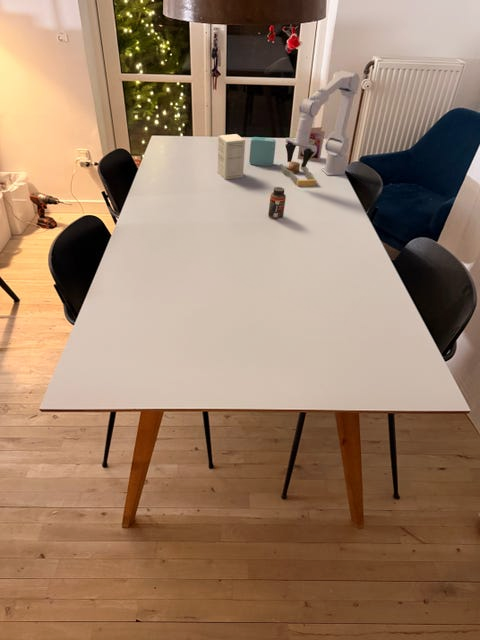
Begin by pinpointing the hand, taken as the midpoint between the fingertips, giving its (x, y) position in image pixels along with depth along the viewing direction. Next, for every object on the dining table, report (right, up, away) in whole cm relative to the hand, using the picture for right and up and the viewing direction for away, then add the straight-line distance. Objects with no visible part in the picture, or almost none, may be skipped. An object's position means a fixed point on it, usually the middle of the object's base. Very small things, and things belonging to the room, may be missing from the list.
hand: (296, 164), depth 190 cm
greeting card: (+12, +17, +38) cm, 43 cm away
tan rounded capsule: (+1, +4, +22) cm, 22 cm away
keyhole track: (+3, 0, +17) cm, 17 cm away
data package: (-14, +10, +27) cm, 32 cm away
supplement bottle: (-10, -27, -17) cm, 34 cm away
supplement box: (-29, 0, +13) cm, 32 cm away
